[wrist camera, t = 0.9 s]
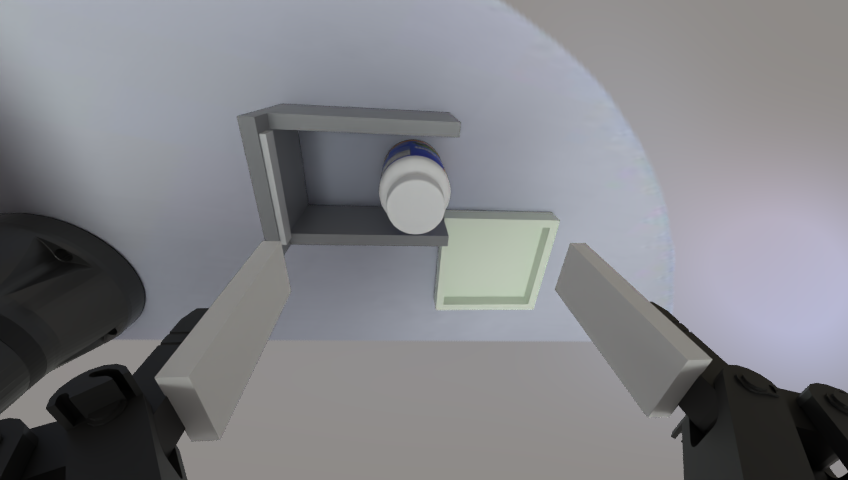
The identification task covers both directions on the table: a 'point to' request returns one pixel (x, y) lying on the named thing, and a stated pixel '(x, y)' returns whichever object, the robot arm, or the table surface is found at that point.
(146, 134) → the table surface
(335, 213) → the bay
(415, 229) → the pill bottle
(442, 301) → the tray
